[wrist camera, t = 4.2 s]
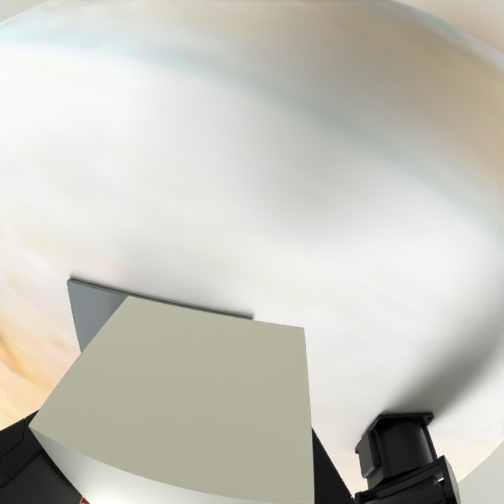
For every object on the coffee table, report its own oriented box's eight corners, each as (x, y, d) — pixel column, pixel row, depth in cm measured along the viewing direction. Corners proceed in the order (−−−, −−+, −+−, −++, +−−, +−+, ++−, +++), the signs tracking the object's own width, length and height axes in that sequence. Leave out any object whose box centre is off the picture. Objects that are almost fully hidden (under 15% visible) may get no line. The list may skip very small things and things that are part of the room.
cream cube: (303, 327, 8) (314, 503, 3) (271, 429, 10) (261, 549, 5) (128, 295, 8) (28, 425, 3) (142, 403, 10) (95, 509, 5)
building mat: (251, 318, 19) (250, 322, 19) (230, 433, 25) (230, 437, 24) (69, 278, 20) (66, 281, 19) (97, 397, 25) (95, 400, 25)
